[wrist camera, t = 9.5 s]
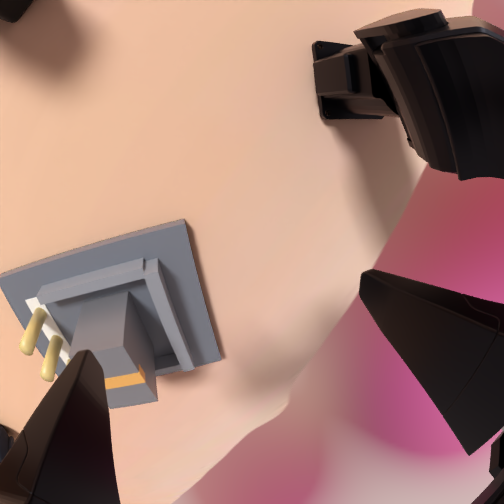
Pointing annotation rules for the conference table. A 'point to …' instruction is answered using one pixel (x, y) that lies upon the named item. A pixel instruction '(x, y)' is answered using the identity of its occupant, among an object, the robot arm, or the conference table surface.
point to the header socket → (111, 282)
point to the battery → (13, 9)
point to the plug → (118, 348)
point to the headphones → (5, 443)
